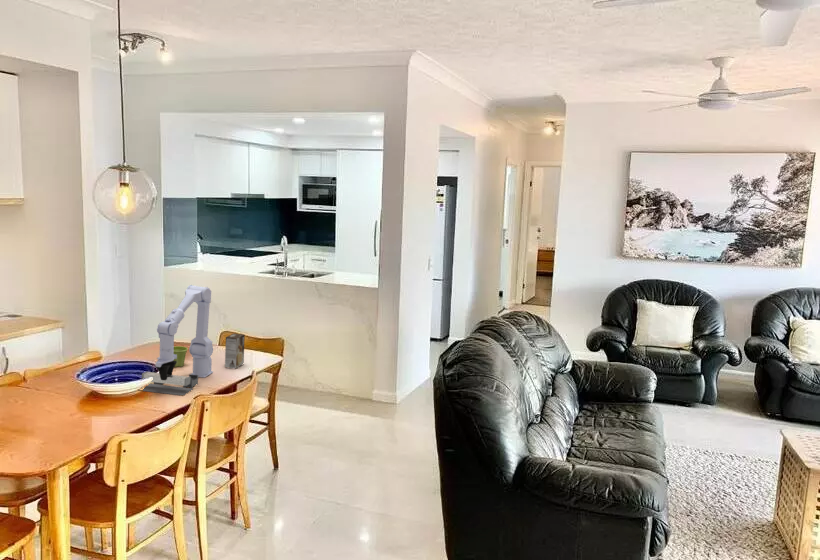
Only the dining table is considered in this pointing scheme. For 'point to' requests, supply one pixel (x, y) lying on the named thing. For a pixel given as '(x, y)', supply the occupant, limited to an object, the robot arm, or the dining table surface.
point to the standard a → (192, 380)
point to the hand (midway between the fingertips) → (166, 378)
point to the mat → (167, 389)
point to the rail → (168, 378)
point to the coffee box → (234, 350)
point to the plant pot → (180, 355)
